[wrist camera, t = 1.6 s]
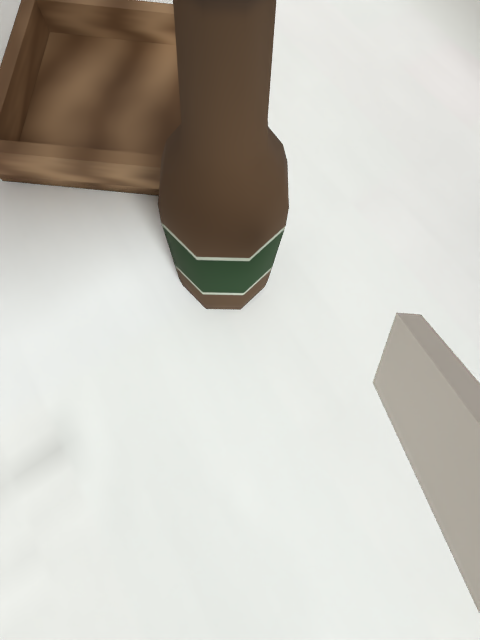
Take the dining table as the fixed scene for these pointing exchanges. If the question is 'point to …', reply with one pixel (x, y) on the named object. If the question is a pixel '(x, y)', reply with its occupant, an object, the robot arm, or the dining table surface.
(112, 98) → the box
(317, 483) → the dining table surface
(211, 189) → the beer bottle
